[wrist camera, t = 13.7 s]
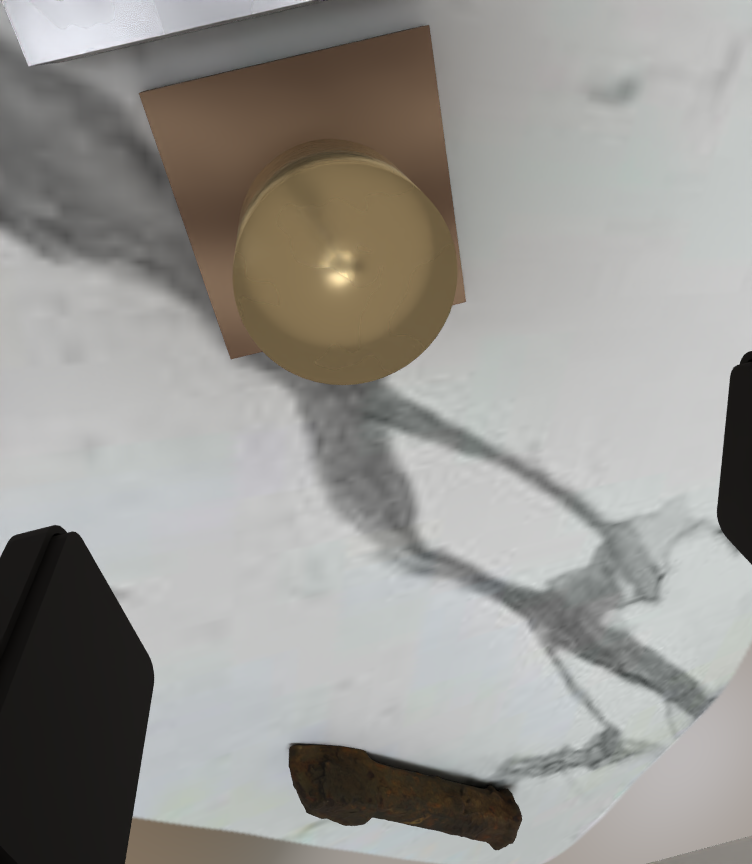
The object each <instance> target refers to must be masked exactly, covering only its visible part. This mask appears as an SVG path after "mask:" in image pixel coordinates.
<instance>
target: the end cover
mask: <svg viewBox="0 0 752 864" xmlns="http://www.w3.org/2000/svg"><path fill="white" fill-rule="evenodd" d="M457 273H458V269H457V256H456V251H455V247H454V242H453V239H452V237H451V234H450V231H449V228H448V226H447V224H446V223H445V221H444V219H443V217H442V215H441V214H440V212H439V211H438V209H437V208H436V207H435V205H434V204H433V203H432V202H431V201H430V200H429V198H428V197H427V196H426V195H425V194H424V193H423V192H422V191H421V190H420V189H419V188H418V187H417V186H416V185H415V184H414V183H413V182H412V181H410V180H409V179H408V178H407V177H406V176H405V175H404V174H403V173H402V172H401V171H400V170H399V169H398V168H397V167H396V166H395V165H394V164H393V163H392V162H391V161H389V160H388V159H387V158H386V157H384V156H383V155H382V154H380V153H378V152H377V151H375V150H373V149H371V148H369V147H367V146H364V145H362V144H359V143H356V142H352V141H348V140H340V139H320V140H314V141H309V142H305V143H302V144H299V145H296V146H294V147H292V148H290V149H288V150H286V151H284V152H283V153H281V154H280V155H278V156H277V157H275V158H274V159H273V160H272V161H271V162H269V163H268V164H267V165H266V166H265V167H264V168H263V169H262V171H261V172H260V173H259V174H258V175H257V176H256V178H255V180H254V181H253V183H252V184H251V186H250V188H249V190H248V192H247V194H246V196H245V199H244V202H243V205H242V208H241V212H240V218H239V224H238V232H237V240H236V247H235V255H234V262H233V290H234V298H235V301H236V305H237V309H238V312H239V315H240V317H241V320H242V322H243V324H244V326H245V328H246V330H247V331H248V333H249V335H250V336H251V338H252V339H253V340H254V342H255V343H256V344H257V346H258V347H259V348H260V349H261V350H262V351H263V352H264V353H265V354H266V355H267V356H268V357H269V358H270V359H271V360H273V361H274V362H275V363H277V364H278V365H279V366H281V367H282V368H284V369H286V370H287V371H289V372H291V373H293V374H295V375H298V376H300V377H302V378H305V379H308V380H312V381H315V382H319V383H325V384H334V385H351V384H360V383H365V382H370V381H374V380H377V379H380V378H383V377H386V376H388V375H390V374H392V373H395V372H396V371H398V370H400V369H402V368H403V367H405V366H407V365H408V364H409V363H411V362H412V361H413V360H415V359H416V358H417V357H418V356H419V355H421V354H422V353H423V352H424V351H425V350H426V349H427V348H428V347H429V345H430V344H431V343H432V342H433V340H434V339H435V338H436V337H437V335H438V334H439V332H440V330H441V329H442V327H443V326H444V324H445V322H446V319H447V317H448V315H449V313H450V310H451V307H452V304H453V301H454V297H455V292H456V287H457Z"/></svg>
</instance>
